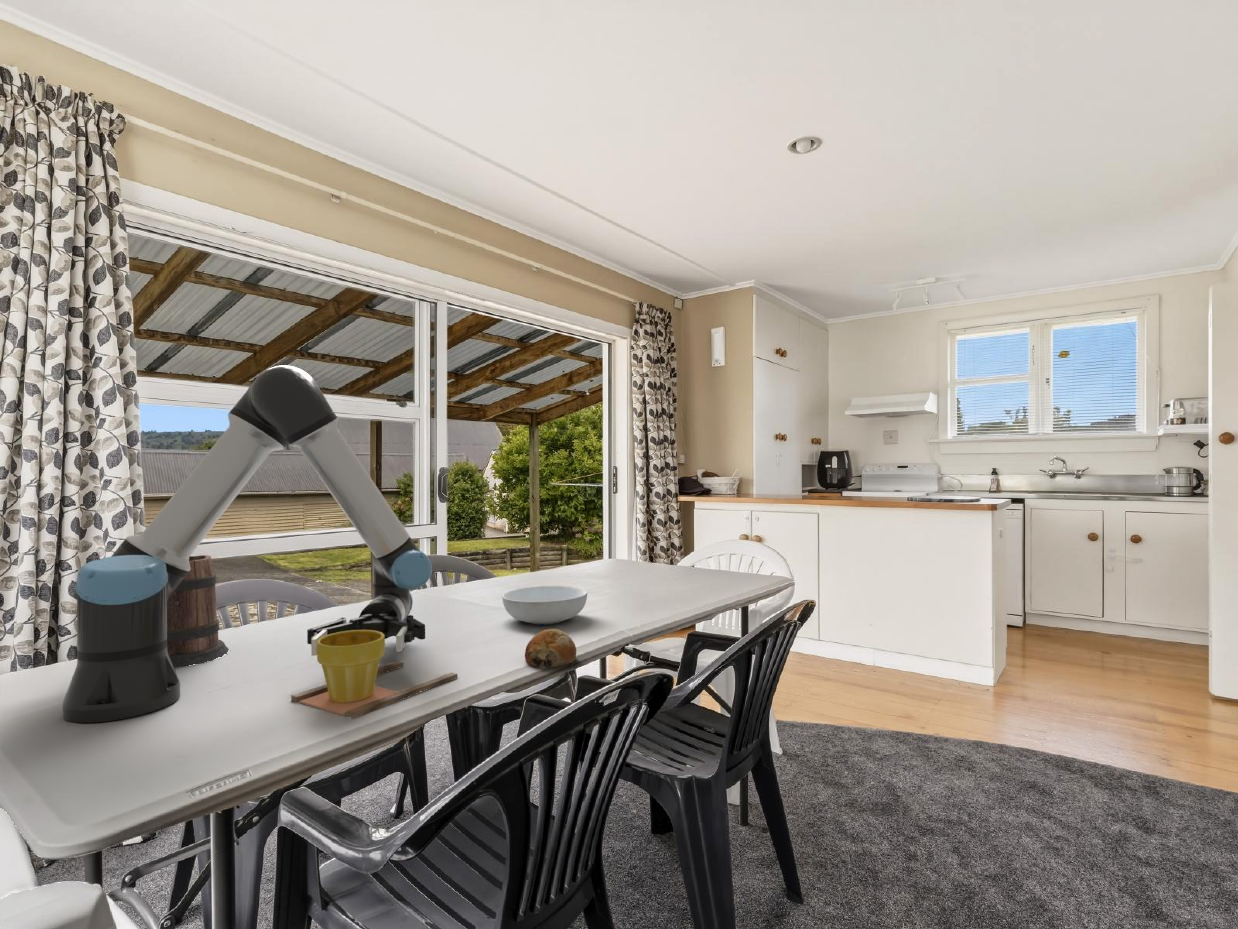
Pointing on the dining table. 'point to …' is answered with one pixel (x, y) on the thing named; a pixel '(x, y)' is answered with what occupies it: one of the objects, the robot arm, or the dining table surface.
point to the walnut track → (382, 701)
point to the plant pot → (350, 663)
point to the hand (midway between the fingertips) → (356, 645)
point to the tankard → (194, 617)
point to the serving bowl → (544, 603)
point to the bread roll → (550, 649)
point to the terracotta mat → (341, 708)
